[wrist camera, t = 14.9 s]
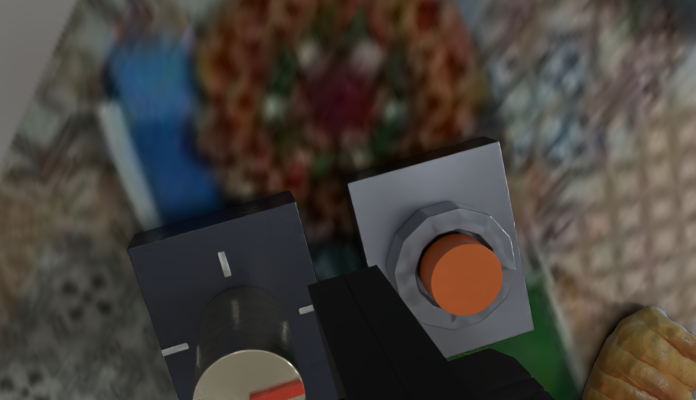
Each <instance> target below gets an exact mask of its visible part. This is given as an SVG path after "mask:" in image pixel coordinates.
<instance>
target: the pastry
mask: <svg viewBox="0 0 696 400" xmlns="http://www.w3.org/2000/svg"><path fill="white" fill-rule="evenodd" d="M694 389H696V336H695V335H693V334H691V333H689V332H688V331H687V330H686V329H685V328H684V327H683V326H681V325H680V324H677V323H676V322H674V321H672V320H670V319H669V318H667V315H666V313H665V311H664V310H662V309H660V308H659V307H658V306H647V307H645V308H643V309H641V310H639V311H637V312H635V313H634V314H631V315H629V316H627V317H626V318H624V319H623V320H621V321H620V322H619V323H618V326H617V327H616V329H615V330H614V332H613V333H612V334H611V335H610V336H608V337H607V339H606V341H605V343H604V345H603V347H602V348H601V350H600V354H599V356H598V358H597V359H596V361H595V363H594V366H593V369H592V372H591V373H589V378H588V380H587V383H586V385H585V389H584V393H583V396H582V400H692V394H691V393H692V391H693V390H694Z"/></svg>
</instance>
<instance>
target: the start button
mask: <svg viewBox="0 0 696 400" xmlns="http://www.w3.org/2000/svg"><path fill="white" fill-rule="evenodd" d="M420 278H421V282H422V284H423V286H424V288H425V290H426V291H427V292H428V293H429V295H430V296H431V297H432V298H433V299H434V300H435V301H436V303H437V304H438V305H439V306H440V307H441V308H442V309H443V310H445V311H447V312H449V313H451V314H454V315H460V316H465V315H472V314H475V313H478V312H480V311H482V310H484V309H485V308H486V307H488V306H489V305H490V304H491V303H492V302H493V301H494V299H495V298H496V297H497V295H498V293H499V291H500V288H501V284H502V268H501V264H500V262H499V260H498V258H497V257H496V255H495V254H494V253H493V252H492V251H491V250H489V249H488V248H487V247H485V246H484V245H482V244H481V243H480V242H478V241H477V240H475V239H474V238H472V237H470V236H467V235H463V234H451V235H447V236H444V237H442V238H440V239H438V240H437V241H435V242H434V243H433V244H432V245H431V246H430V247H429V248H428V249H427V251H426V252H425V254H424V256H423V258H422V261H421V265H420Z"/></svg>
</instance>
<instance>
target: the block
mask: <svg viewBox="0 0 696 400" xmlns="http://www.w3.org/2000/svg"><path fill="white" fill-rule="evenodd" d="M341 181H342V185H343V189H344V193H345V197H346V200H347V204H348V208H349V212H350V216H351V220H352V224H353V228H354V232H355V236H356V240H357V244H358V248H359V252H360V256H361V260H362V264H363V268H367V267H371V266H374V265H377V266H378V267H379V268H380V270H381V271H382V273H383V274H384V275H385V277H386V278H387V279H388V281H389V282H390V283H391V285H392V286H393V287H394V289H395V290H396V292H397V293H398V294H399V296H400V297H401V298H402V300H403V301H404V302H405V304H406V305H407V307H408V308H409V309H410V311H411V312H412V313H413V315H414V316H415V317H416V319H417V320H418V321H419V323H420V324H421V326H422V327H423V328H424V330H425V331H426V332H427V334H428V335H429V336H430V338H431V339H432V341H433V342H434V343H435V345H436V346H437V347H438V349H439V350H440V351H441V353H442V354H443V355H444V357H445V358H448V357H451V356H454V355H457V354H461V353H464V352H467V351H470V350H473V349H476V348H479V347H482V346H486V345H489V344H492V343H495V342H498V341H501V340H504V339H507V338H510V337H514V336H517V335H520V334H523V333H526V332H529V331H532V330H534V326H533V321H532V316H531V310H530V305H529V299H528V294H527V288H526V283H525V278H524V272H523V267H522V261H521V256H520V251H519V245H518V240H517V234H516V229H515V223H514V218H513V213H512V207H511V202H510V196H509V191H508V186H507V180H506V175H505V169H504V164H503V159H502V153H501V148H500V142H499V141H497V140H494V139H491V138H487V137H481V138H477V139H474V140H470V141H467V142H463V143H460V144H456V145H452V146H449V147H445V148H442V149H438V150H434V151H431V152H427V153H424V154H420V155H417V156H413V157H409V158H406V159H402V160H399V161H395V162H391V163H388V164H384V165H381V166H377V167H374V168H370V169H366V170H363V171H359V172H356V173H352V174H348V175H345V176H341ZM451 234H463V235H467V236H470V237H472V238H474V239H475V240H477V241H478V242H480V243H481V244H482V245H484V246H485V247H487V248H488V249H489V250H491V251H492V252H493V253H494V254H495V255H496V257H497V258H498V260H499V262H500V264H501V268H502V284H501V288H500V291H499V293H498V295H497V297H496V298H495V299H494V301H493V302H492V303H491V304H490V305H489V306H488V307H486V308H485V309H484V310H482V311H480V312H478V313H475V314H472V315H465V316H460V315H454V314H451V313H449V312H447V311H445V310H443V309H442V308H441V307H440V306H439V305H438V304H437V303H436V301H435V300H434V299H433V298H432V297H431V296H430V295H429V293H428V292H427V291H426V290H425V288H424V286H423V284H422V282H421V278H420V265H421V261H422V258H423V256H424V254H425V252H426V251H427V249H428V248H429V247H430V246H431V245H432V244H433V243H434V242H435V241H437V240H438V239H440V238H442V237H444V236H447V235H451Z"/></svg>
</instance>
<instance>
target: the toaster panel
mask: <svg viewBox="0 0 696 400" xmlns="http://www.w3.org/2000/svg"><path fill="white" fill-rule="evenodd" d="M127 250H128V253H129V256H130V259H131V262H132V265H133V268H134V271H135V274H136V276H137V279H138V282H139V285H140V288H141V291H142V294H143V297H144V300H145V302H146V305H147V308H148V311H149V314H150V317H151V320H152V323H153V326H154V328H155V331H156V334H157V337H158V340H159V343H160V346H161V349H162V350H161V351H162V354H163V356H164V357H165V360H166V363H167V366H168V369H169V372H170V375H171V377H172V380H173V383H174V386H175V389H176V392H177V395H178V398H179V400H192V398H193V387H194V376H195V365H196V354H197V344H198V333H199V324H200V319H201V316H202V313H203V311H204V309H205V308H206V306H207V305H208V304H209V303H210V301H211V300H212V299H214V298H215V297H216V296H217V295H219V294H220V293H222V292H224V291H226V290H228V289H231V288H235V287H241V286H250V287H256V288H260V289H263V290H265V291H267V292H269V293H271V294H272V295H273V296H275V297H276V298H277V299H278V300H279V301H280V303H281V304H282V305H283V307H284V309H285V311H286V314H287V317H288V321H289V326H290V330H291V334H292V338H293V342H294V346H295V350H296V354H297V358H298V362H299V367H300V371H301V375H302V379H303V383H304V387H305V395H306V399H305V400H338V395H337V392H336V388H335V385H334V381H333V377H332V374H331V370H330V367H329V363H328V359H327V356H326V352H325V349H324V345H323V341H322V338H321V334H320V330H319V327H318V323H317V320H316V316H315V312H314V309H313V305H312V302H311V298H310V294H309V291H308V287H307V285H310V284H314V283H317V282H318V281H317V278H316V274H315V270H314V267H313V263H312V259H311V256H310V252H309V248H308V245H307V241H306V237H305V234H304V230H303V226H302V222H301V219H300V215H299V211H298V208H297V204H296V201H295V199H294V197H293V195H292V193H291V191H288V192H284V193H280V194H277V195H273V196H270V197H266V198H262V199H259V200H255V201H252V202H248V203H245V204H241V205H237V206H234V207H230V208H227V209H223V210H219V211H216V212H212V213H209V214H205V215H202V216H198V217H194V218H191V219H187V220H184V221H180V222H176V223H173V224H169V225H166V226H162V227H159V228H155V229H151V230H148V231H144V232H141V233H137V234H135V235H134V237H133V239H132V241H131V243H130V245H129V247H128V249H127Z"/></svg>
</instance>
